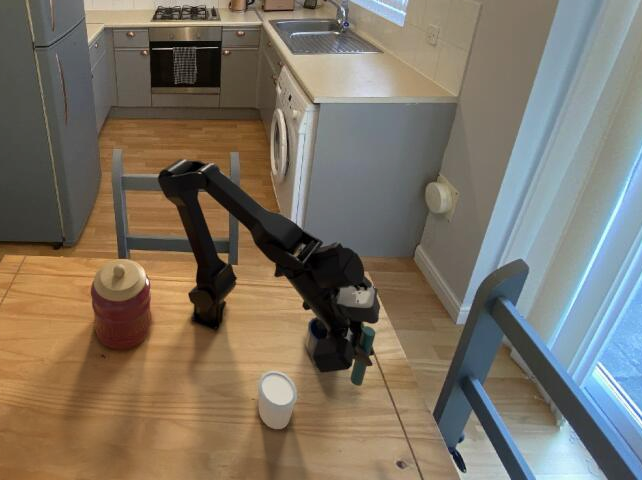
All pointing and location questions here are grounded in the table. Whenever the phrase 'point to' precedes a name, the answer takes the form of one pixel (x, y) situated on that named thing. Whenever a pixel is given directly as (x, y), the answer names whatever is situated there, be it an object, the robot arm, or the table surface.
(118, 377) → the table surface
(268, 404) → the white cylindrical container
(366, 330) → the teal green rod
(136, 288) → the kitchen canister
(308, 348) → the cup
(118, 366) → the table surface
